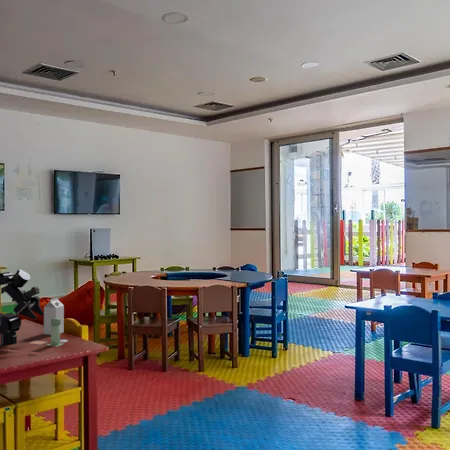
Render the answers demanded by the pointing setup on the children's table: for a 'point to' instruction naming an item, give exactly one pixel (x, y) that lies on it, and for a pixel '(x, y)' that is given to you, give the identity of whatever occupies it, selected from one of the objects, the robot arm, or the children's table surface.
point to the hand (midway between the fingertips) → (39, 317)
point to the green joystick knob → (55, 331)
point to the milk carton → (53, 315)
